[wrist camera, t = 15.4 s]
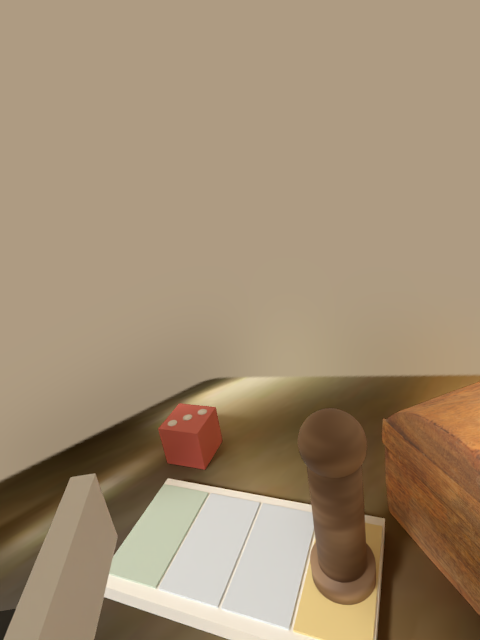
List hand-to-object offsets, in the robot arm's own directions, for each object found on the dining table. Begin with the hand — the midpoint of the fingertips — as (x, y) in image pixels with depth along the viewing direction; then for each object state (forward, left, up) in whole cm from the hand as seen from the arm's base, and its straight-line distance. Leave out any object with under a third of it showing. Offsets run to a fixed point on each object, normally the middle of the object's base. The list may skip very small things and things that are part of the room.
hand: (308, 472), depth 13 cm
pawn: (-2, +12, -21) cm, 24 cm away
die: (-21, +24, -23) cm, 39 cm away
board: (-10, +12, -23) cm, 28 cm away
